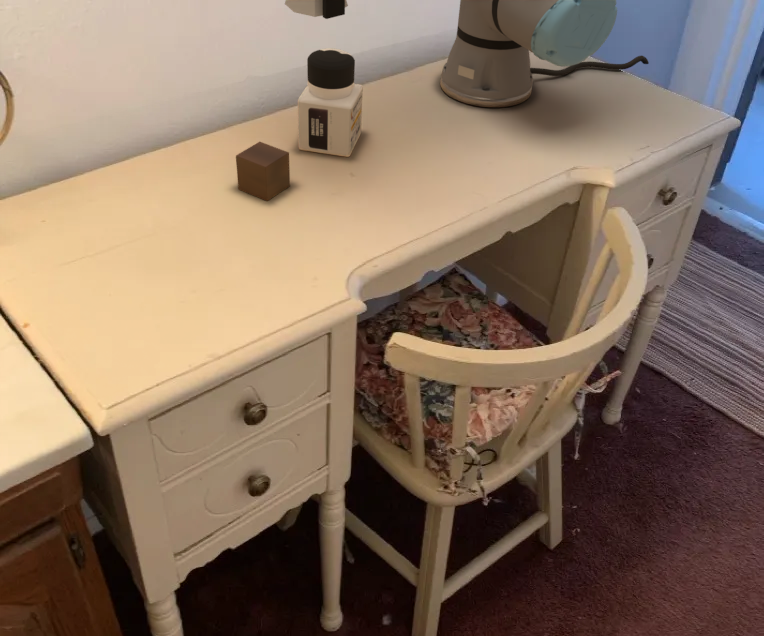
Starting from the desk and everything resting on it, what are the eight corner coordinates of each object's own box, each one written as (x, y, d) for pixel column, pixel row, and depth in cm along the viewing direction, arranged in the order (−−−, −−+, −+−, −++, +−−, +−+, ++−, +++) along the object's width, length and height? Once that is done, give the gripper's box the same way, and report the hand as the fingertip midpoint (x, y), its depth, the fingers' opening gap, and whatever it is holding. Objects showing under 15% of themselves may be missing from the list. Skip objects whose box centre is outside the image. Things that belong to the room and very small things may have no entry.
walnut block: (261, 174, 115) (259, 141, 112) (290, 186, 114) (289, 152, 110) (238, 189, 112) (235, 155, 109) (267, 201, 111) (265, 167, 107)
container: (349, 158, 120) (352, 68, 111) (297, 150, 121) (296, 61, 112) (361, 134, 126) (364, 47, 117) (311, 126, 126) (311, 40, 117)
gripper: (227, -241, 89) (244, -14, 105) (338, -209, 78) (338, 39, 94) (286, -245, 92) (294, -25, 108) (400, -215, 81) (390, 25, 97)
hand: (314, 5), depth 101 cm, fingers closed on flask, 7 cm apart
